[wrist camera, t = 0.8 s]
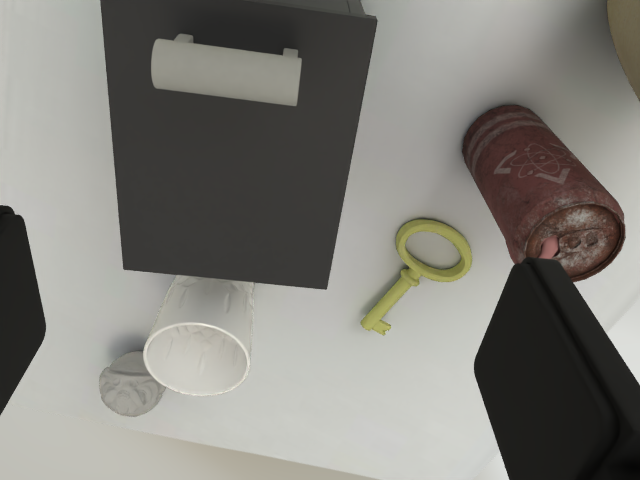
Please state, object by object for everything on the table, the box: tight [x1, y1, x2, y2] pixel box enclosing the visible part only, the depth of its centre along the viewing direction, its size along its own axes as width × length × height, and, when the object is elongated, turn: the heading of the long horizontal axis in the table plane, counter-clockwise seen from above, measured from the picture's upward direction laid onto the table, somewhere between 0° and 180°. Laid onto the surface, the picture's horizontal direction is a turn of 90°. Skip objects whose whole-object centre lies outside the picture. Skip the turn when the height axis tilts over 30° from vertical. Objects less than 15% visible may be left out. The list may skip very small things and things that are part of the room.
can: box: [462, 105, 626, 282], centre depth 35 cm, size 6×6×14 cm
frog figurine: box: [99, 351, 166, 417], centre depth 51 cm, size 6×7×7 cm
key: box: [361, 219, 472, 335], centre depth 48 cm, size 7×12×2 cm, turn 163°
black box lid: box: [100, 0, 377, 290], centre depth 28 cm, size 17×13×6 cm
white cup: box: [143, 275, 254, 396], centre depth 44 cm, size 8×8×10 cm
